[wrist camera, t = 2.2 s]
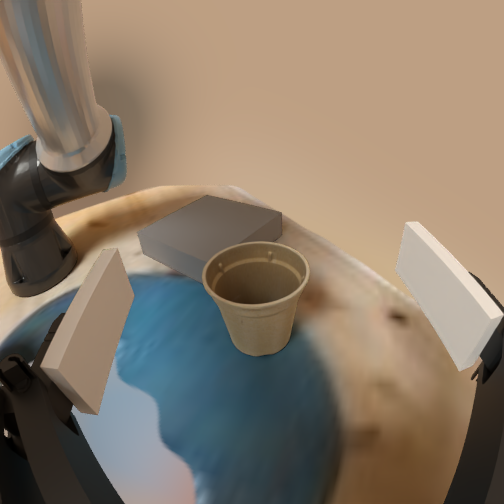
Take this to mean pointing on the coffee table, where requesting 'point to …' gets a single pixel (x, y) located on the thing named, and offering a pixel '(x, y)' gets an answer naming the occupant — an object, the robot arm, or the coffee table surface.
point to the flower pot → (257, 293)
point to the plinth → (206, 232)
